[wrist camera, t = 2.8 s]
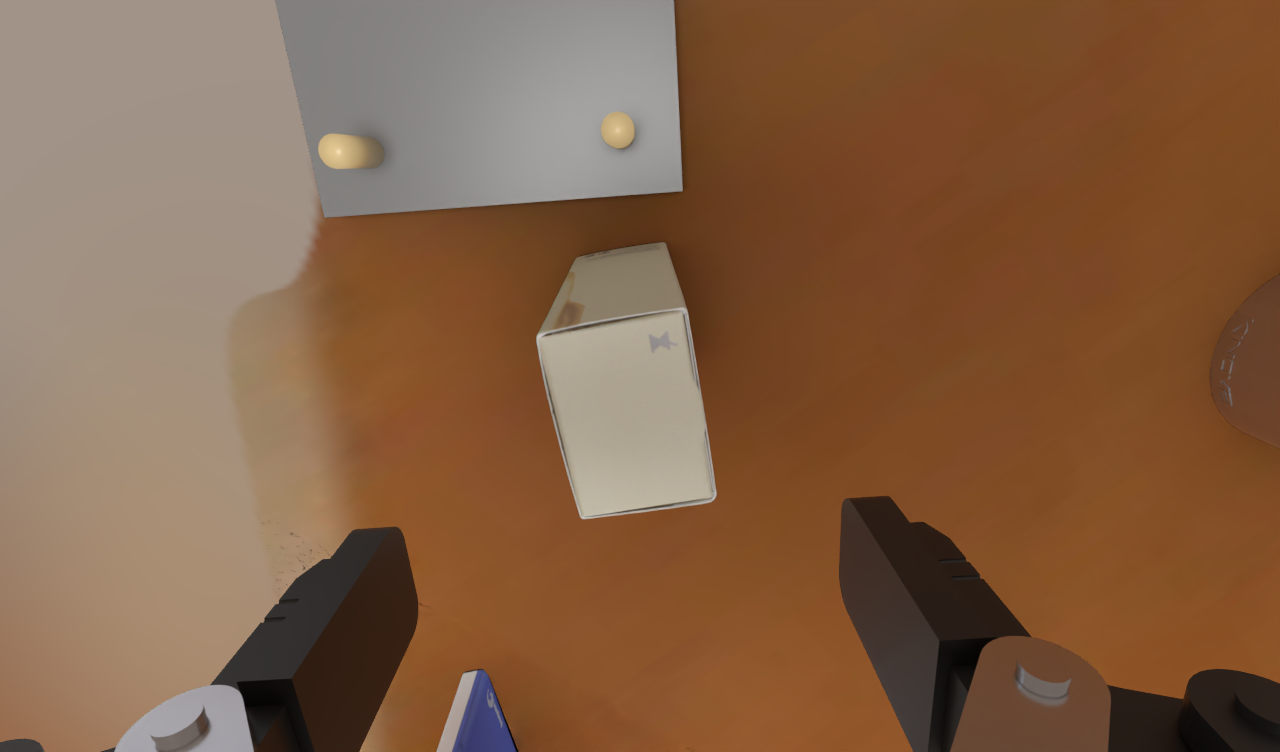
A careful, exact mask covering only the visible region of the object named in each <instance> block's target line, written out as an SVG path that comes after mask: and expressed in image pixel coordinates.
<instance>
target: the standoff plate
mask: <svg viewBox="0 0 1280 752" xmlns="http://www.w3.org/2000/svg"><path fill="white" fill-rule="evenodd" d="M275 2H276V7H277V11H278V15H279V20H280V24H281V29H282V33H283V37H284V42H285V46H286V51H287V55H288V59H289V64H290V68H291V73H292V77H293V81H294V86H295V90H296V95H297V99H298V103H299V108H300V112H301V117H302V121H303V125H304V130H305V134H306V139H307V143H308V147H309V152H310V156H311V160H312V165H313V169H314V174H315V178H316V182H317V187H318V191H319V196H320V200H321V204H322V209H323V213H324V218H326V217H340V216H353V215H367V214H380V213H394V212H407V211H421V210H434V209H448V208H461V207H475V206H489V205H502V204H516V203H529V202H543V201H556V200H570V199H583V198H597V197H610V196H624V195H638V194H651V193H665V192H678V191H683V185H682V164H681V142H680V121H679V100H678V78H677V57H676V36H675V15H674V0H275Z"/></svg>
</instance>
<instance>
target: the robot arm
mask: <svg viewBox="0 0 1280 752" xmlns="http://www.w3.org/2000/svg"><path fill="white" fill-rule="evenodd" d="M1210 385H1211V391H1212V396H1213V398H1214V401H1215V404H1216V406H1217V408H1218V410H1219V412H1220V413H1221V414H1222V415H1223V417H1224V418H1225V419H1226V420H1227V421H1228V422H1229V423H1230V424H1231V425H1233V426H1234V427H1235V428H1237V429H1238V430H1240V431H1241V432H1243V433H1246V434H1248V435H1250V436H1252V437H1255V438H1257V439H1259V440H1261V441H1263V442H1266V443H1268V444H1270V445H1272V446H1275V447H1277V448H1279V449H1280V274H1279V275H1277V276H1276V277H1274V278H1272V279H1271V280H1269V281H1268V282H1266V283H1265V284H1263V285H1262V286H1261V287H1260V288H1259V289H1257V290H1256V291H1255V292H1254V293H1253V294H1252V295H1251V296H1250V297H1249V298H1248V299H1247V300H1245V301H1244V303H1243V304H1242V305H1241V306H1240V307H1239V308H1238V310H1237V311H1236V312H1235V313H1234V315H1233V316H1232V317H1231V319H1230V320H1229V322H1228V323H1227V325H1226V326H1225V328H1224V330H1223V332H1222V334H1221V336H1220V338H1219V340H1218V342H1217V345H1216V348H1215V351H1214V354H1213V357H1212V362H1211V369H1210ZM839 579H840V587H841V593H842V597H843V601H844V604H845V607H846V609H847V612H848V614H849V616H850V618H851V620H852V622H853V624H854V626H855V629H856V631H857V633H858V635H859V637H860V639H861V641H862V643H863V646H864V648H865V650H866V652H867V654H868V656H869V658H870V660H871V663H872V665H873V667H874V669H875V671H876V673H877V675H878V677H879V680H880V682H881V684H882V686H883V688H884V690H885V692H886V694H887V696H888V699H889V701H890V703H891V705H892V707H893V709H894V711H895V713H896V716H897V718H898V720H899V722H900V724H901V726H902V728H903V730H904V733H905V735H906V737H907V739H908V741H909V743H910V745H911V747H912V750H913V752H1280V684H1279V683H1277V682H1274V681H1272V680H1269V679H1266V678H1263V677H1260V676H1257V675H1253V674H1249V673H1245V672H1241V671H1234V670H1226V669H1212V670H1205V671H1201V672H1199V673H1197V674H1195V675H1193V676H1192V677H1191V678H1190V680H1189V682H1188V685H1187V688H1186V692H1185V695H1184V699H1178V698H1173V697H1167V696H1162V695H1156V694H1151V693H1145V692H1139V691H1134V690H1128V689H1123V688H1118V687H1114V686H1110V685H1107V684H1106V682H1105V681H1104V679H1103V678H1102V676H1101V675H1100V674H1099V673H1098V672H1097V670H1095V669H1094V668H1093V667H1092V666H1091V665H1090V664H1089V663H1088V662H1086V661H1085V660H1084V659H1082V658H1081V657H1079V656H1078V655H1076V654H1074V653H1073V652H1071V651H1069V650H1067V649H1065V648H1063V647H1061V646H1059V645H1056V644H1054V643H1051V642H1048V641H1045V640H1041V639H1038V638H1032V637H1031V636H1030V634H1029V633H1028V632H1027V631H1026V630H1025V628H1024V627H1023V626H1022V625H1021V624H1020V622H1019V621H1018V620H1017V619H1016V618H1015V616H1014V615H1013V614H1012V613H1011V612H1010V610H1009V609H1008V608H1007V607H1006V606H1005V604H1004V603H1003V602H1002V601H1001V600H1000V598H999V597H998V596H997V595H996V594H995V592H994V591H993V590H992V589H991V588H990V586H989V585H988V584H987V583H986V582H985V580H984V579H980V574H979V573H978V572H977V571H976V570H975V568H974V567H973V566H972V565H971V564H970V562H966V558H965V556H964V555H963V554H962V553H961V552H960V550H959V549H958V548H957V547H956V546H955V544H954V543H953V542H952V541H951V540H950V538H948V537H947V536H945V535H943V534H942V533H940V532H939V531H937V530H935V529H934V528H932V527H931V526H929V525H927V524H926V523H924V522H914V523H910V522H909V521H908V520H907V518H906V517H905V516H904V514H903V513H902V512H901V510H900V509H899V508H898V506H897V505H896V504H895V503H894V501H893V500H892V499H891V498H890V497H889V496H877V497H862V498H847V499H845V500H844V502H843V505H842V513H841V538H840V563H839ZM417 619H418V598H417V593H416V589H415V584H414V580H413V575H412V571H411V566H410V562H409V557H408V553H407V548H406V544H405V539H404V536H403V533H402V531H401V530H400V529H399V528H398V527H384V528H369V529H356V530H353V531H352V532H351V533H350V534H349V535H348V536H347V538H346V539H345V540H344V542H343V543H342V544H341V546H340V547H339V548H338V549H337V551H336V552H335V553H334V555H333V556H332V557H331V559H323V560H321V561H320V562H319V563H317V564H316V565H315V566H313V567H312V568H310V569H309V570H308V571H306V572H305V573H303V574H302V575H301V576H299V577H298V578H297V579H296V580H295V581H294V582H293V583H292V585H291V586H290V587H289V588H288V590H287V591H286V592H285V593H284V595H283V596H282V597H281V598H280V600H279V604H275V606H274V607H273V608H272V609H271V611H270V612H269V613H268V614H267V616H266V617H265V621H264V623H260V624H259V626H258V627H257V628H256V629H255V630H254V632H253V633H252V634H251V636H250V637H249V638H248V639H247V640H246V642H245V643H244V644H243V645H242V647H241V648H240V649H239V650H238V651H237V653H236V654H235V655H234V656H233V658H232V659H231V660H230V661H229V663H228V664H227V665H226V666H225V668H224V669H223V670H222V671H221V673H220V674H219V675H218V676H217V677H216V679H215V680H214V681H213V682H212V684H211V685H210V686H204V687H199V688H196V689H193V690H189V691H187V692H184V693H182V694H179V695H177V696H175V697H173V698H171V699H169V700H167V701H165V702H164V703H162V704H160V705H159V706H157V707H155V708H154V709H152V710H151V711H149V712H148V713H147V714H145V715H144V716H143V717H142V718H140V719H139V720H138V721H137V722H136V723H135V724H134V725H133V726H132V727H131V728H130V729H129V730H128V731H127V732H126V733H125V735H124V736H123V737H122V738H121V740H120V741H119V743H118V745H117V747H115V748H112V749H108V750H105V751H102V752H359V751H360V749H361V746H362V744H363V742H364V740H365V738H366V736H367V734H368V731H369V729H370V727H371V725H372V723H373V721H374V719H375V716H376V714H377V712H378V710H379V708H380V706H381V704H382V701H383V699H384V697H385V695H386V693H387V691H388V689H389V686H390V684H391V682H392V680H393V678H394V676H395V674H396V671H397V669H398V667H399V665H400V663H401V661H402V659H403V656H404V654H405V652H406V650H407V648H408V646H409V643H410V641H411V639H412V637H413V635H414V632H415V629H416V625H417ZM0 752H45V751H44V749H43V748H42V746H41V745H40V743H38V742H36V741H34V740H30V739H15V740H9V741H4V742H0Z"/></svg>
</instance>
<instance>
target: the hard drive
mask: <svg viewBox="0 0 1280 752" xmlns="http://www.w3.org/2000/svg"><path fill="white" fill-rule="evenodd" d="M437 752H519V751H518V749H517V746H516V744H515V741H514V739H513V736H512V734H511V731H510V729H509V727H508V724H507V721H506V719H505V716H504V714H503V711H502V708H501V706H500V704H499V701H498V698H497V696H496V693H495V691H494V689H493V686H492V683H491V681H490V678H489V676H488V675H487V673H486V672H485V671H484V670H483V669H477V670H471V671H466V672H464V673H463V675H462V678H461V681H460V684H459V687H458V690H457V693H456V696H455V699H454V702H453V705H452V708H451V710H450V713H449V716H448V719H447V722H446V725H445V728H444V731H443V734H442V737H441V740H440V743H439V746H438V749H437Z"/></svg>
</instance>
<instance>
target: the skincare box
mask: <svg viewBox="0 0 1280 752" xmlns="http://www.w3.org/2000/svg"><path fill="white" fill-rule="evenodd" d="M536 343H537V348H538V353H539V360H540V364H541V369H542V375H543V379H544V384H545V389H546V393H547V398H548V402H549V406H550V410H551V414H552V418H553V422H554V426H555V430H556V434H557V437H558V441H559V445H560V449H561V453H562V457H563V460H564V464H565V467H566V471H567V475H568V478H569V481H570V484H571V488H572V492H573V495H574V498H575V502H576V505H577V508H578V512H579V515H580V517H581V518H582V519H591V518H598V517H606V516H616V515H623V514H632V513H641V512H649V511H655V510H663V509H671V508H678V507H685V506H692V505H699V504H705V503H710V502H712V501H713V500H714V499H715V497H716V495H717V492H716V485H715V479H714V472H713V465H712V458H711V451H710V444H709V438H708V431H707V425H706V419H705V412H704V406H703V401H702V395H701V388H700V382H699V376H698V370H697V364H696V358H695V352H694V345H693V339H692V334H691V328H690V322H689V316H688V310H687V307H686V304H685V301H684V297H683V294H682V291H681V288H680V285H679V282H678V279H677V276H676V273H675V270H674V267H673V264H672V261H671V258H670V255H669V251H668V249H667V245H666V243H664V242H660V243H652V244H645V245H638V246H632V247H626V248H619V249H614V250H608V251H603V252H598V253H593V254H589V255H584V256H580V257H577V258H576V259H575V261H574V263H573V265H572V267H571V269H570V270H569V273H568V275H567V277H566V279H565V281H564V283H563V285H562V287H561V288H560V291H559V293H558V295H557V297H556V299H555V301H554V303H553V305H552V307H551V309H550V311H549V313H548V315H547V317H546V319H545V321H544V323H543V325H542V327H541V329H540V331H539V332H538V334H537V337H536Z"/></svg>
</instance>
